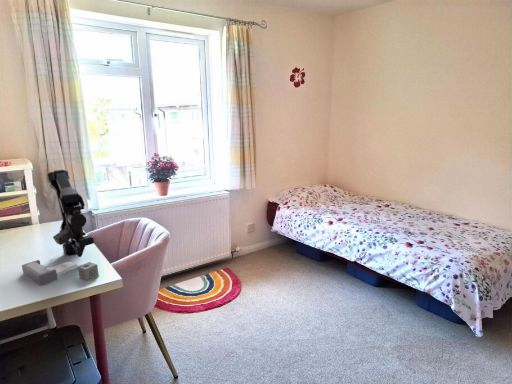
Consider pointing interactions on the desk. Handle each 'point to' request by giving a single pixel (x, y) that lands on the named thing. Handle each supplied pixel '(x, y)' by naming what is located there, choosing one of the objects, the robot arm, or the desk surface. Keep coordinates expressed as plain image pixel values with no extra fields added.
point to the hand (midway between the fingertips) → (79, 256)
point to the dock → (39, 273)
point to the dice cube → (88, 271)
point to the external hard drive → (63, 267)
